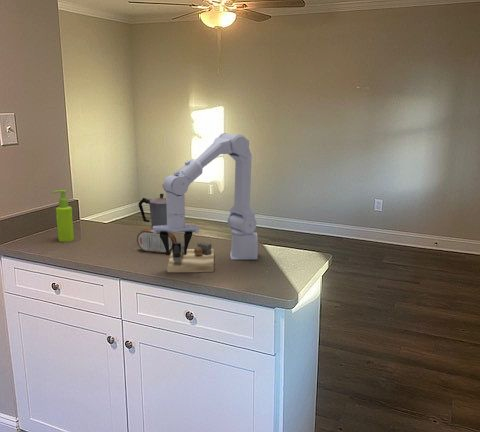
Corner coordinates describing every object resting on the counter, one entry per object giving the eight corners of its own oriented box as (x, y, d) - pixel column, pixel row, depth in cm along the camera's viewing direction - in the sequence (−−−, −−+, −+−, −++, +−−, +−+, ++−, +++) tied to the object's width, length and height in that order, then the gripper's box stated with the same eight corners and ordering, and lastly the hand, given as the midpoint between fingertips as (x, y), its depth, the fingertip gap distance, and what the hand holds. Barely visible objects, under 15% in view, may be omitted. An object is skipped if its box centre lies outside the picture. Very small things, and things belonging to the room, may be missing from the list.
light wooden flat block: (172, 254, 179) (171, 239, 178) (213, 254, 180) (213, 239, 179) (167, 272, 161) (167, 256, 159) (213, 271, 162) (213, 255, 160)
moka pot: (177, 248, 187) (176, 196, 182) (136, 247, 187) (134, 195, 182) (180, 241, 196) (180, 191, 191) (142, 240, 196) (140, 191, 192)
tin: (177, 252, 181) (176, 230, 179) (173, 255, 178) (173, 232, 176) (140, 249, 185) (139, 227, 183) (136, 251, 182) (135, 229, 181)
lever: (173, 249, 177) (173, 230, 176) (186, 249, 177) (185, 230, 176) (169, 265, 160) (169, 244, 158) (183, 265, 160) (183, 244, 158)
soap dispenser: (55, 239, 197) (51, 189, 193) (73, 237, 200) (69, 188, 196) (56, 242, 192) (52, 192, 188) (74, 240, 195) (71, 191, 190)
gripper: (151, 216, 153) (152, 257, 156) (198, 215, 154) (198, 257, 157) (154, 211, 160) (155, 251, 163) (198, 211, 161) (199, 250, 164)
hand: (176, 253), depth 160 cm, fingers open, 5 cm apart
